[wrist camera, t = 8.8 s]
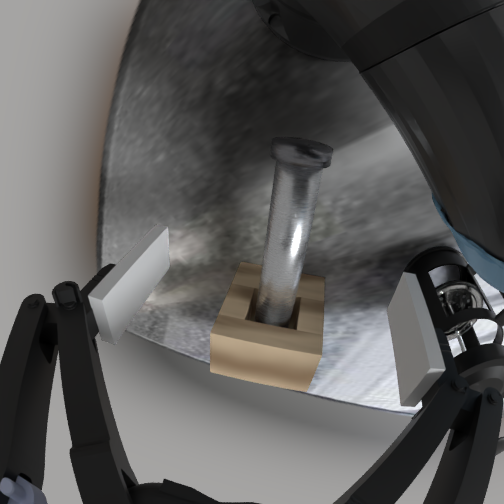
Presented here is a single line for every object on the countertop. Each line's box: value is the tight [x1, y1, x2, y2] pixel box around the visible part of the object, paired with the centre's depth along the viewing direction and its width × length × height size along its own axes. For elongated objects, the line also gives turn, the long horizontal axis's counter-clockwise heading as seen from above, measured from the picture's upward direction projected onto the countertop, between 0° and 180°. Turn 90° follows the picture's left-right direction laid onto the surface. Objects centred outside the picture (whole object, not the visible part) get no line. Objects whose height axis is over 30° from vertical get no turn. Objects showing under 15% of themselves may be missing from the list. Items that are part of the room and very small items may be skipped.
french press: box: [404, 246, 504, 456], centre depth 23 cm, size 12×9×23 cm
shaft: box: [254, 137, 333, 328], centre depth 28 cm, size 21×5×5 cm, turn 174°
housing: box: [210, 262, 325, 392], centre depth 33 cm, size 6×10×12 cm, turn 84°
